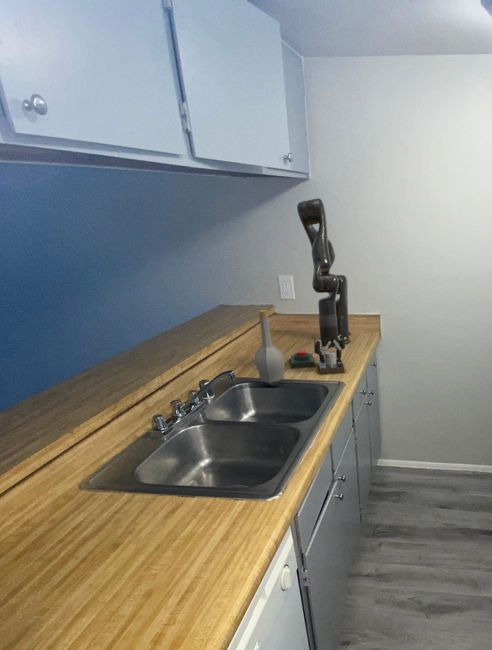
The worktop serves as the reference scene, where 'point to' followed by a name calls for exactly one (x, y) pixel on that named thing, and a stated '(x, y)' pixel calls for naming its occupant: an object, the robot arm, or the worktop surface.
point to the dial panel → (331, 367)
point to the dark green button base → (302, 361)
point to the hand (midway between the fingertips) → (330, 360)
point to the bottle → (268, 355)
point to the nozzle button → (301, 353)
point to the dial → (330, 357)
